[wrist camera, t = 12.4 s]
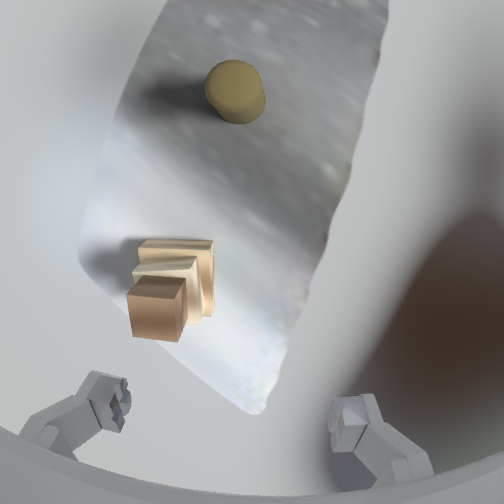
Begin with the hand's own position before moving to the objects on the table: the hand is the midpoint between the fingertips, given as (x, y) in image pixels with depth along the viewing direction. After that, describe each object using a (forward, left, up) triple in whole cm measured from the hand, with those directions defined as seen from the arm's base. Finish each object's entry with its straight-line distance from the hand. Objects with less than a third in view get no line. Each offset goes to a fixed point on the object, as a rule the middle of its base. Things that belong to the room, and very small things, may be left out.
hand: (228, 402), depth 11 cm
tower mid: (+8, -9, -26) cm, 29 cm away
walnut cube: (+8, -9, -22) cm, 25 cm away
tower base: (+8, -9, -30) cm, 32 cm away
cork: (-15, -2, -30) cm, 33 cm away
